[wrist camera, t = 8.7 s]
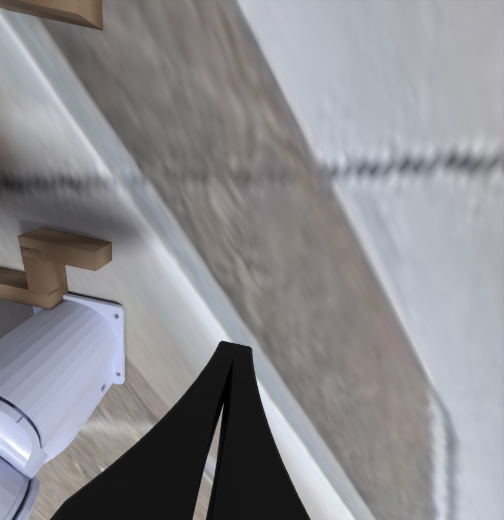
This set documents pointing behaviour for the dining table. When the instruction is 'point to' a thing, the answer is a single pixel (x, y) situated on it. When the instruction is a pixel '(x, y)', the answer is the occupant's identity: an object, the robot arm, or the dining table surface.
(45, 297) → the frame
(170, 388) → the dining table surface
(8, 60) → the dining table surface
